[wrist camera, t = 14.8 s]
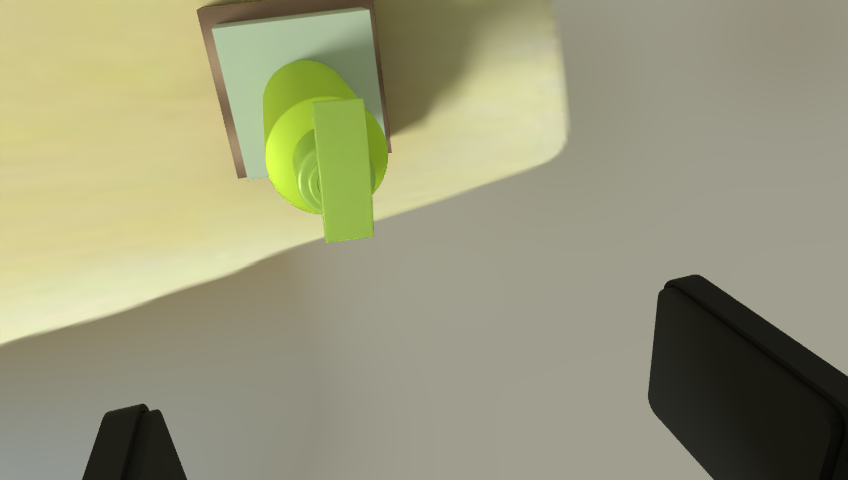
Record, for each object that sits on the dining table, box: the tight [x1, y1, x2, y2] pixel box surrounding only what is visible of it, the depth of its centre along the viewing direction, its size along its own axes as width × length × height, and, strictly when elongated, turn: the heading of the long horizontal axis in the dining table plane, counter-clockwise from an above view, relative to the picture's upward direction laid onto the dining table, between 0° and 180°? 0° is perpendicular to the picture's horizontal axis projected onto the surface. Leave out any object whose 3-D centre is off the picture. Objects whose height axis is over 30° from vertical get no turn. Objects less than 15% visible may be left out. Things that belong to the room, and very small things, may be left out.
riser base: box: [197, 0, 392, 179], centre depth 45 cm, size 12×12×4 cm
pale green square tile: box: [212, 7, 386, 180], centre depth 41 cm, size 10×10×4 cm
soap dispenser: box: [263, 60, 388, 243], centre depth 31 cm, size 6×7×20 cm
